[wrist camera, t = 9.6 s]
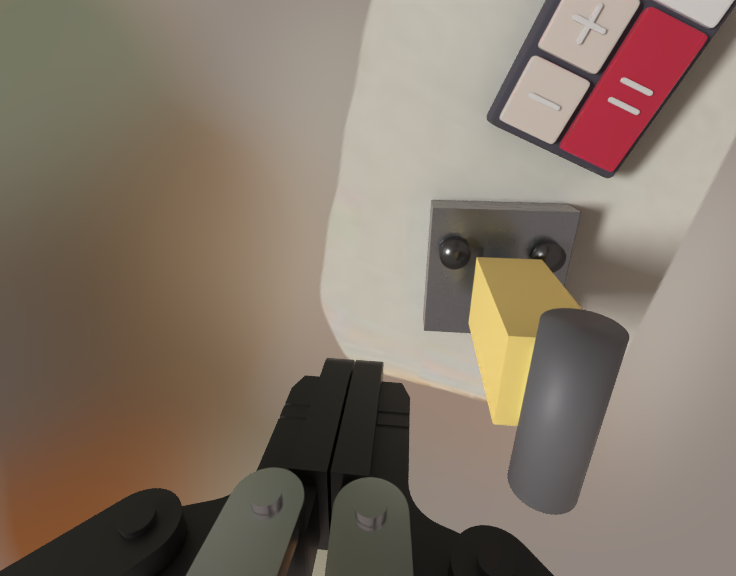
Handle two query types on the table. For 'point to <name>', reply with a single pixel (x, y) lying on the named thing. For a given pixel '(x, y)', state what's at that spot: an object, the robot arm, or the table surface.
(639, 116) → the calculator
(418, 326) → the table surface
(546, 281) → the yellow toy mallet
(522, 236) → the base
